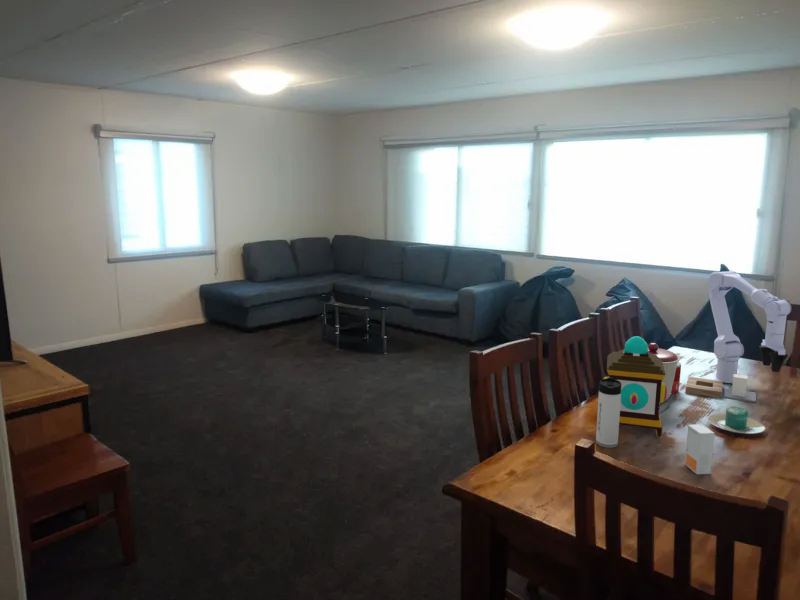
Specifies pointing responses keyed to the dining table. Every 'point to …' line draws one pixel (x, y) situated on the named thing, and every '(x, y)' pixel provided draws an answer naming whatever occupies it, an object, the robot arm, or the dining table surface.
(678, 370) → the canned food
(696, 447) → the skincare box
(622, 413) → the decorative lantern
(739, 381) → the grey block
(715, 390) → the pocket board
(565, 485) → the dining table surface
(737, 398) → the coaster
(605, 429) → the travel mug
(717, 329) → the robot arm
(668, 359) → the canister
